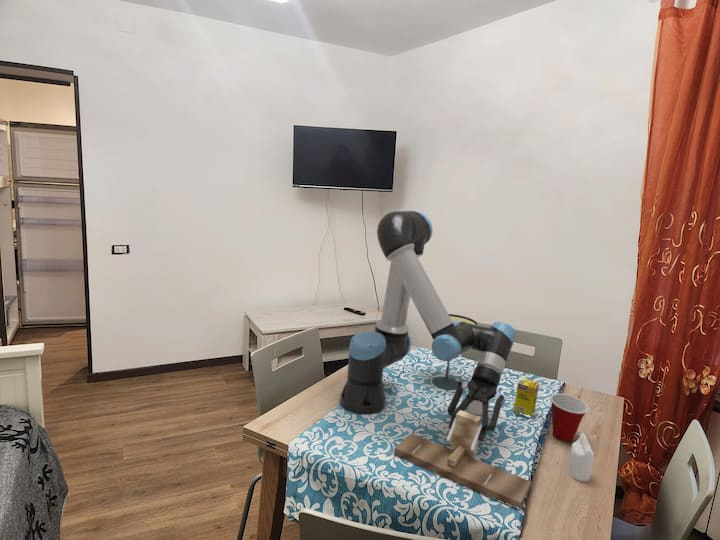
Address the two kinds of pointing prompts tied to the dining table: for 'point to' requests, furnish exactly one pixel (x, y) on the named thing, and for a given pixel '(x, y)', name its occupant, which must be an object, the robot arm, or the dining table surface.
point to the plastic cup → (566, 416)
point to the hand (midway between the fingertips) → (460, 446)
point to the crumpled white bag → (581, 459)
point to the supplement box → (526, 396)
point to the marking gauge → (463, 436)
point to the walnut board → (464, 470)
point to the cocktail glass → (445, 381)
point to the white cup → (475, 406)
